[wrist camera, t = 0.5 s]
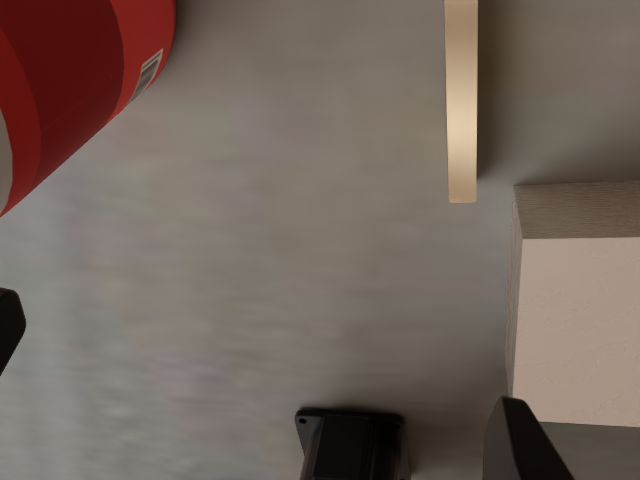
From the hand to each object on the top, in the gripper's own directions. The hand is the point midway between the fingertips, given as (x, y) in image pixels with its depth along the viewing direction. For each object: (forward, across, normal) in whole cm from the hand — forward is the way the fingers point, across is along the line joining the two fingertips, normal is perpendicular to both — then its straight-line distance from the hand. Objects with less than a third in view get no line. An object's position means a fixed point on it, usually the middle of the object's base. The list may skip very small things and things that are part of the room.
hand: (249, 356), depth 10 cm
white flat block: (+14, -13, +6) cm, 20 cm away
